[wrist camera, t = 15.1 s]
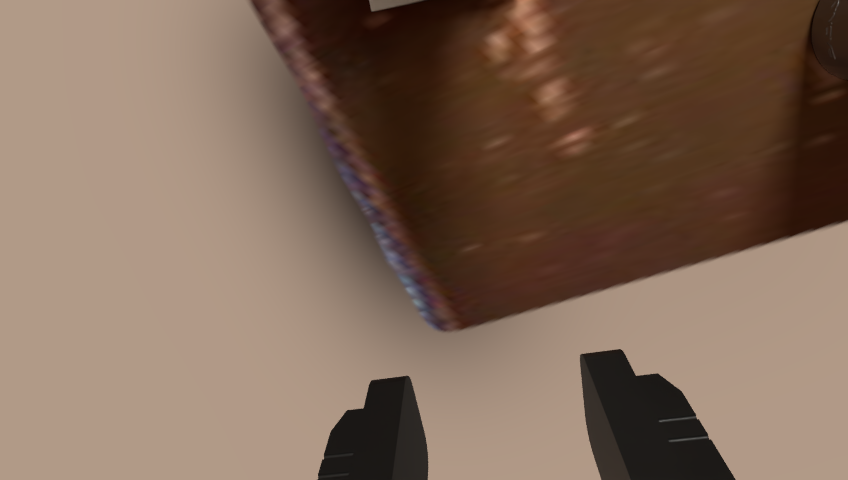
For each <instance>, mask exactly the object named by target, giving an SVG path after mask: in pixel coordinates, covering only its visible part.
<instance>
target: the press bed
mask: <svg viewBox="0 0 848 480" xmlns="http://www.w3.org/2000/svg"><path fill="white" fill-rule="evenodd" d="M423 1H427V0H369V2H370V7H371V12H377V11H382V10H386V9H391V8H395V7H400V6H404V5H409V4H413V3H418V2H423Z"/></svg>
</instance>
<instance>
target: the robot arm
mask: <svg viewBox="0 0 848 480" xmlns="http://www.w3.org/2000/svg"><path fill="white" fill-rule="evenodd" d="M812 45H813V49H814V52H815V55H816V57H817V59H818V60H819V62H820V64H821V65H822V66H823V67H824V68H825V69H826V70H827V71H828V72H829V73H831V74H833V75H835V76H837V77H838V78H842V79H846V80H848V0H820V2H819V4H818V7H817V9H816V12H815V14H814V19H813V24H812ZM580 366H581V375H582V386H583V398H584V408H585V417H586V425H587V430H588V435H589V440H590V444H591V448H592V451H593V455H594V458H595V461H596V464H597V467H598V470H599V473H600V476H601V480H735V478H734V476H733V475H732V473H731V471H730V470H729V468H728V467H727V465H726V463H725V462H724V460H723V458H722V457H721V455H720V453H719V452H718V450H717V449H716V447H715V445H714V444H713V442H712V441H711V440H709V438H708V434H707V432H706V431H705V429H704V427H703V426H702V424H701V423H700V421H699V419H698V420H697V418H696V414H695V413H694V411H693V409H692V408H691V406H690V404H689V403H688V401H687V399H686V398H685V396H684V395H683V393H682V391H680V390H679V389H678V388H676V387H675V386H674V385H672V384H671V383H670V382H668V381H667V380H666V379H664V378H663V377H662V376H660V375H659V374H650V375H641V376H636V375H635V373H634V371H633V369H632V368H631V366H630V364H629V362H628V360H627V358H626V356H625V354H624V352H623V351H622V350H621V349H618V350H610V351H602V352H595V353H586V354H581V355H580ZM318 480H428V452H427V444H426V438H425V433H424V429H423V425H422V421H421V417H420V413H419V409H418V405H417V402H416V397H415V393H414V390H413V386H412V382H411V379H410V377H409V376H403V377H395V378H387V379H379V380H372V381H371V382H370V384H369V388H368V392H367V397H366V401H365V405H364V408H363V409H355V410H347V411H346V413H345V414H344V415H343V416H342V418H341V419H340V420H339V422H338V423H337V424H336V425H335V427H334V428H333V429H332V431H331V433H330V436H329V439H328V443H327V446H326V450H325V453H324V460H322V463H321V467H320V470H319V473H318Z"/></svg>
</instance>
